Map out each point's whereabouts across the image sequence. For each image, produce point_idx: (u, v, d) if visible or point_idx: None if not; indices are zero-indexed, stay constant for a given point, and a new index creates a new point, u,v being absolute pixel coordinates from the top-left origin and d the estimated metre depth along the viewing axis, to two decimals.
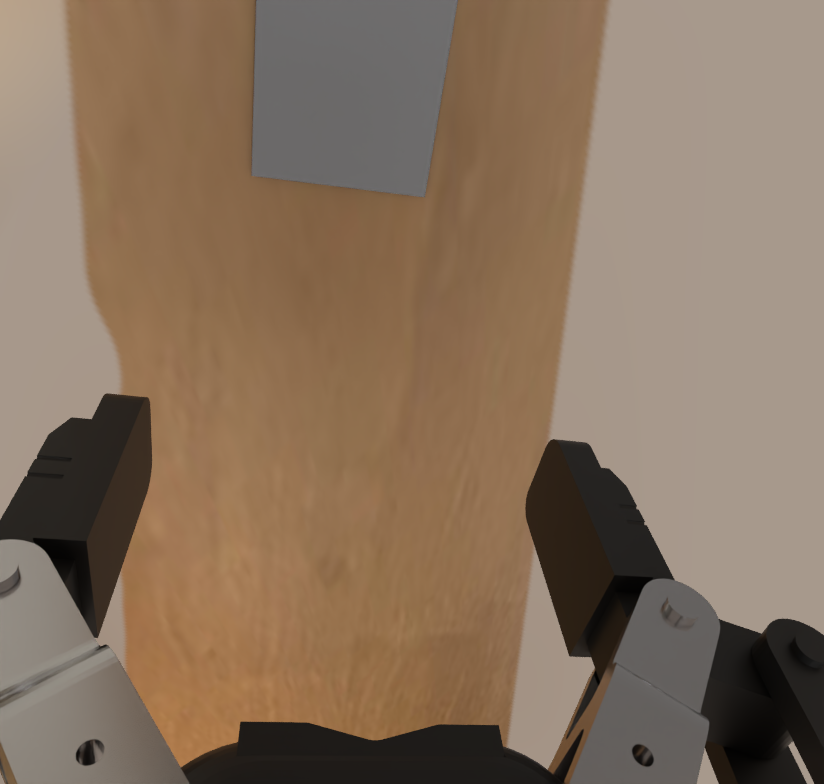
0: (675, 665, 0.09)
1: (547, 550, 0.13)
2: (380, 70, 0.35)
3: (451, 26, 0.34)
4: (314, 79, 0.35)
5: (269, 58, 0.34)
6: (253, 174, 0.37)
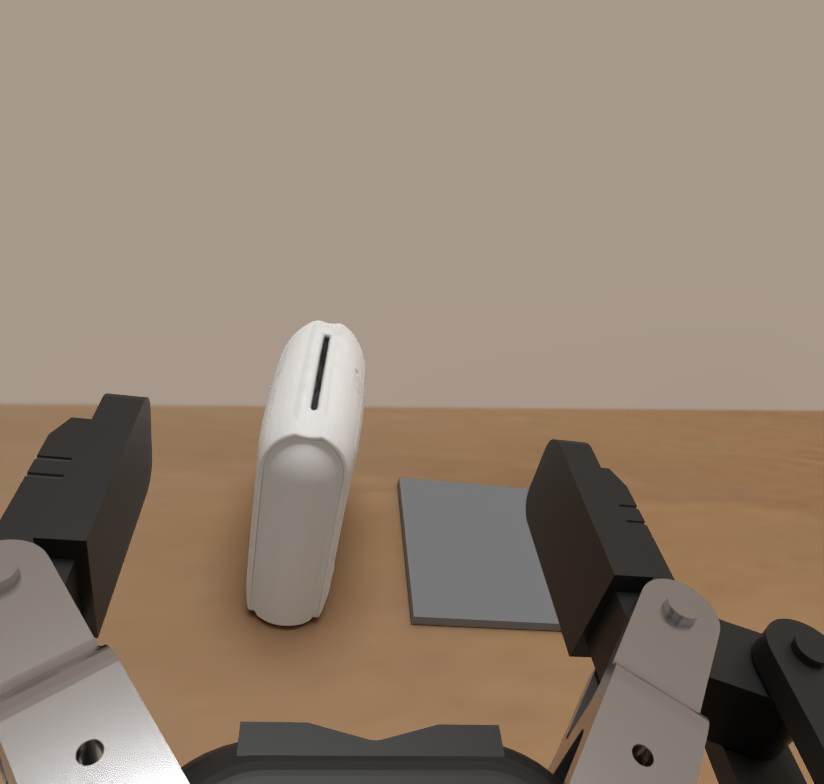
0: (675, 666, 0.09)
1: (547, 550, 0.13)
2: (497, 526, 0.39)
3: (447, 482, 0.41)
4: (524, 573, 0.36)
5: (523, 609, 0.34)
6: None
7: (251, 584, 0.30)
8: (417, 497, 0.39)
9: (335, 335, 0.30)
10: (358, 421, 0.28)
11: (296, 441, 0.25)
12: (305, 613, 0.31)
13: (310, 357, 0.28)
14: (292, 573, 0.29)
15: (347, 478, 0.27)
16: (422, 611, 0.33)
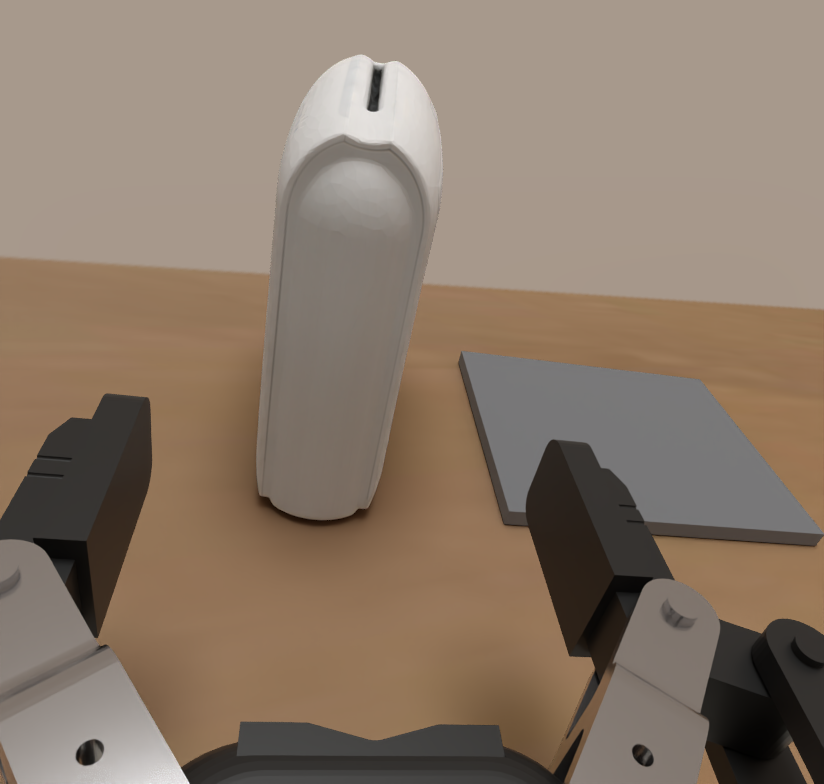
0: (675, 665, 0.09)
1: (547, 550, 0.13)
2: (602, 409, 0.28)
3: (526, 359, 0.30)
4: (653, 464, 0.25)
5: (662, 507, 0.23)
6: (820, 535, 0.24)
7: (265, 449, 0.19)
8: (489, 372, 0.29)
9: None
10: (440, 157, 0.17)
11: (345, 152, 0.15)
12: (349, 498, 0.20)
13: (359, 60, 0.17)
14: (332, 420, 0.18)
15: (428, 236, 0.16)
16: (520, 505, 0.22)
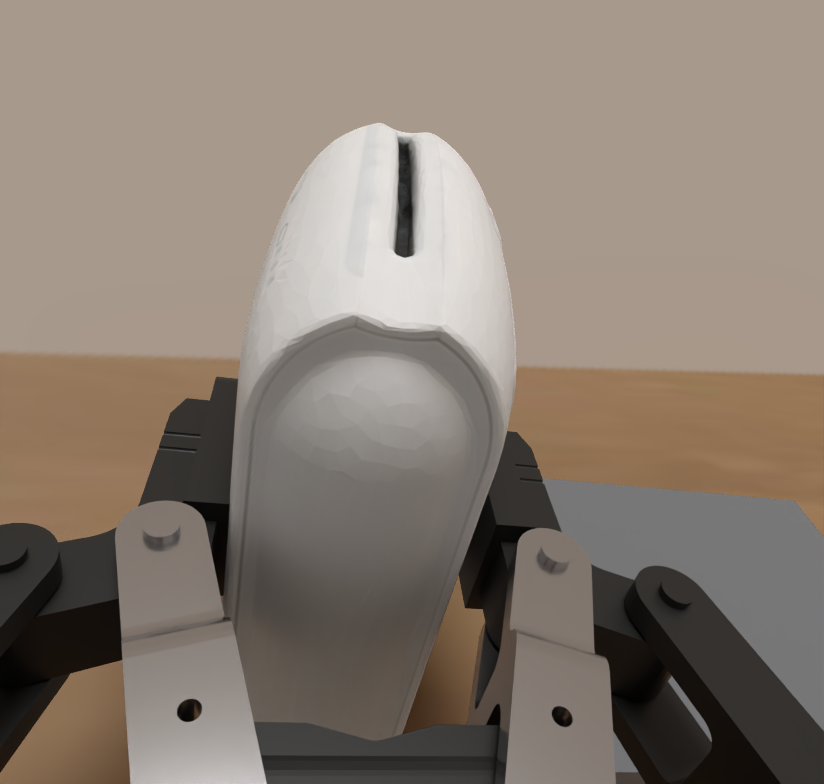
0: (563, 612, 0.09)
1: None
2: (683, 561, 0.21)
3: (578, 483, 0.24)
4: (764, 658, 0.19)
5: None
6: None
7: None
8: None
9: (424, 133, 0.13)
10: (511, 311, 0.10)
11: (356, 342, 0.08)
12: None
13: (378, 147, 0.11)
14: (329, 707, 0.11)
15: (497, 464, 0.09)
16: None
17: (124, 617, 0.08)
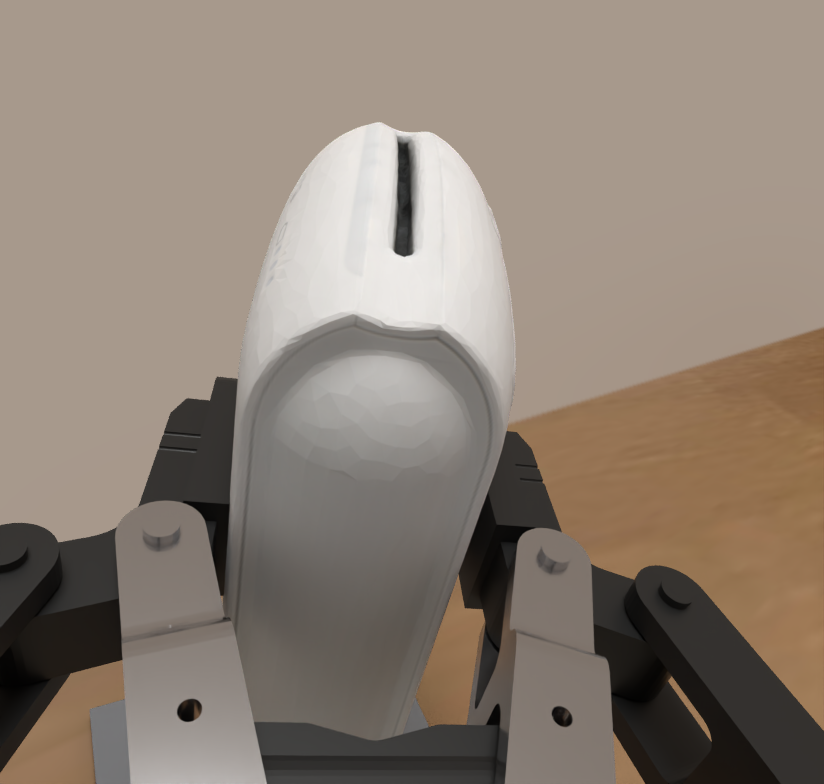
0: (563, 612, 0.09)
1: None
2: None
3: None
4: None
5: None
6: None
7: None
8: (124, 740, 0.24)
9: (423, 132, 0.13)
10: (511, 310, 0.10)
11: (355, 340, 0.08)
12: None
13: (376, 146, 0.11)
14: (330, 706, 0.11)
15: (496, 462, 0.09)
16: None
17: (124, 616, 0.08)
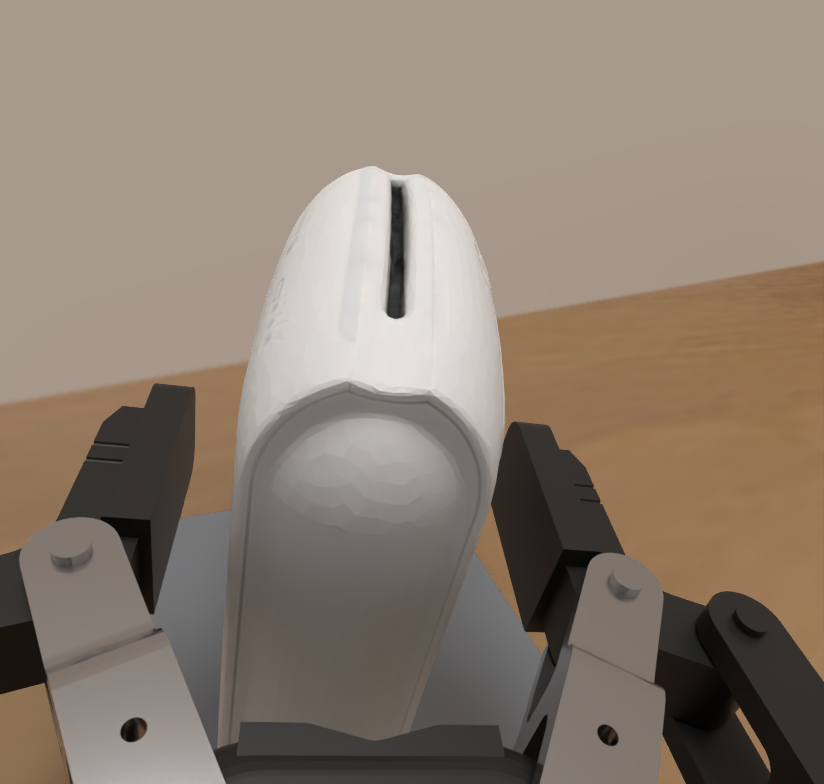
0: (627, 639, 0.09)
1: (507, 530, 0.13)
2: None
3: None
4: None
5: None
6: None
7: None
8: None
9: (416, 178, 0.13)
10: (500, 361, 0.11)
11: (350, 406, 0.08)
12: None
13: (370, 200, 0.11)
14: None
15: (486, 514, 0.10)
16: None
17: (44, 646, 0.08)
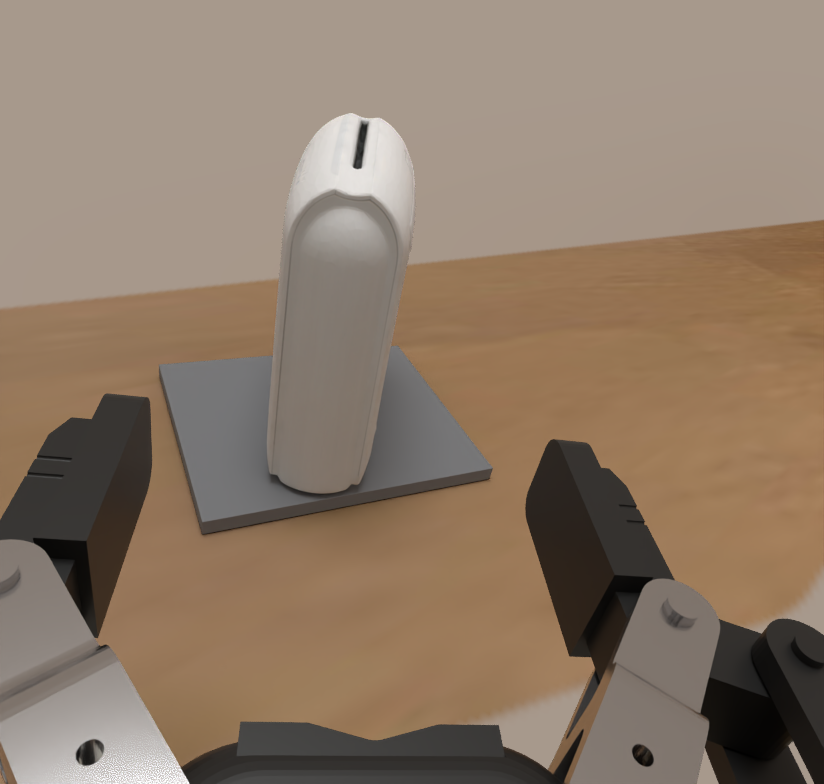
0: (675, 665, 0.09)
1: (547, 550, 0.13)
2: None
3: (227, 360, 0.31)
4: None
5: None
6: (490, 469, 0.28)
7: (274, 435, 0.23)
8: (188, 382, 0.29)
9: (375, 118, 0.24)
10: (412, 200, 0.21)
11: (335, 202, 0.19)
12: (343, 475, 0.24)
13: (347, 123, 0.22)
14: (328, 410, 0.22)
15: (402, 264, 0.20)
16: (214, 513, 0.23)
17: None
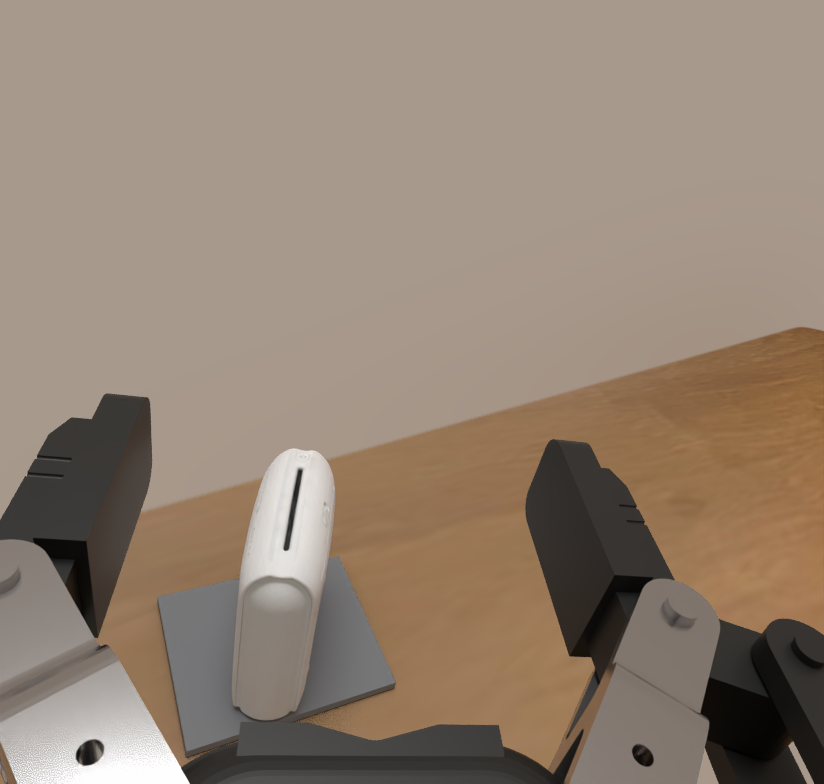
0: (675, 665, 0.09)
1: (547, 550, 0.13)
2: None
3: (208, 586, 0.42)
4: None
5: None
6: (394, 682, 0.39)
7: (236, 687, 0.35)
8: (179, 613, 0.40)
9: (307, 469, 0.35)
10: (325, 553, 0.32)
11: (270, 580, 0.30)
12: (283, 709, 0.36)
13: (284, 497, 0.33)
14: (271, 680, 0.34)
15: (315, 606, 0.31)
16: (194, 742, 0.34)
17: None
